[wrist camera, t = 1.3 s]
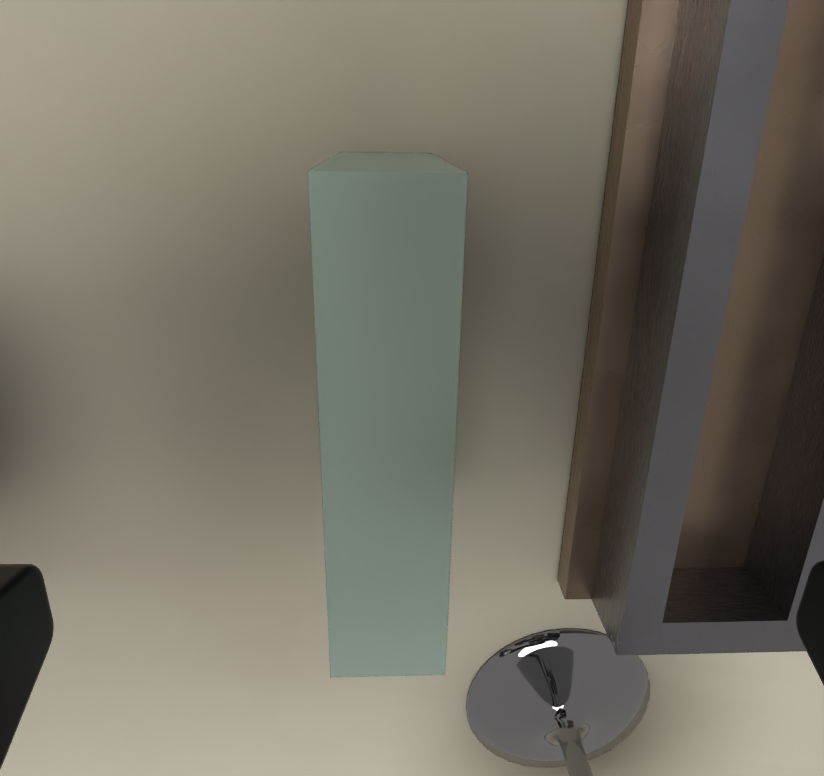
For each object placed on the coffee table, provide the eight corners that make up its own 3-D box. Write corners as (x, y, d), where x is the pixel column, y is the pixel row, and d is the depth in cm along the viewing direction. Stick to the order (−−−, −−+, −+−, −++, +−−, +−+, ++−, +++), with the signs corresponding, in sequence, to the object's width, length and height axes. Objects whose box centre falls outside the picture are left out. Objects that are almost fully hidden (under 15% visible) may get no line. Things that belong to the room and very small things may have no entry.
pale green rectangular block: (349, 480, 21) (330, 677, 13) (340, 151, 17) (307, 171, 10) (423, 480, 21) (445, 674, 13) (431, 153, 17) (468, 172, 10)
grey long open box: (557, 579, 22) (587, 655, 19) (671, -351, 13) (763, -503, 10) (779, 576, 23) (845, 650, 20) (1035, -333, 14) (1234, -473, 11)
